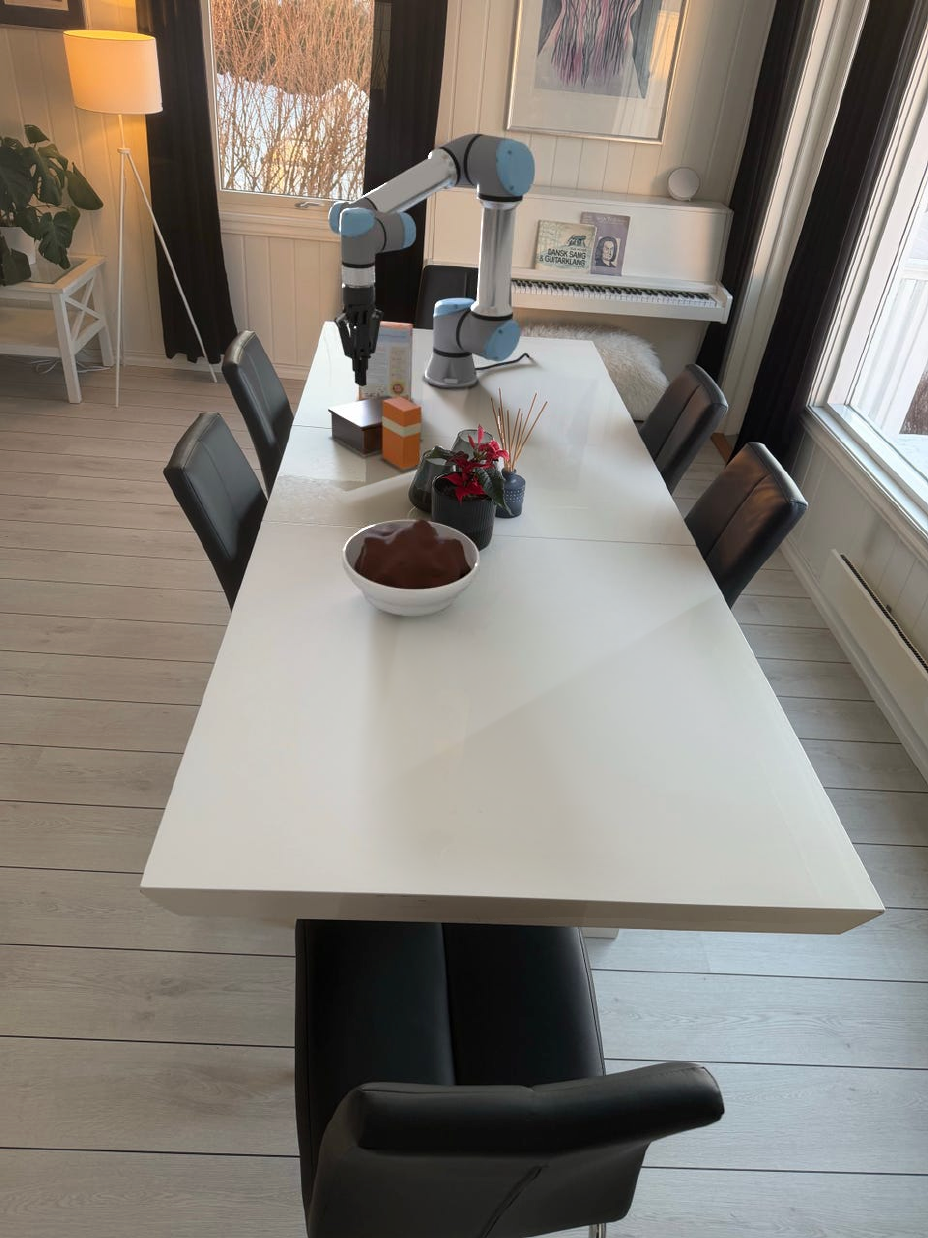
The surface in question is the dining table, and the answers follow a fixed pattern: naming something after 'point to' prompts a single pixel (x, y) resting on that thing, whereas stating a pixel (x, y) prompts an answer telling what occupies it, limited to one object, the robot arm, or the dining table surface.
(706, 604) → the dining table surface
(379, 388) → the cracker box
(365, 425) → the lid
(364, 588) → the bowl of chocolate pudding
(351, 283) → the robot arm
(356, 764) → the dining table surface
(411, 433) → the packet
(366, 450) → the storage box
